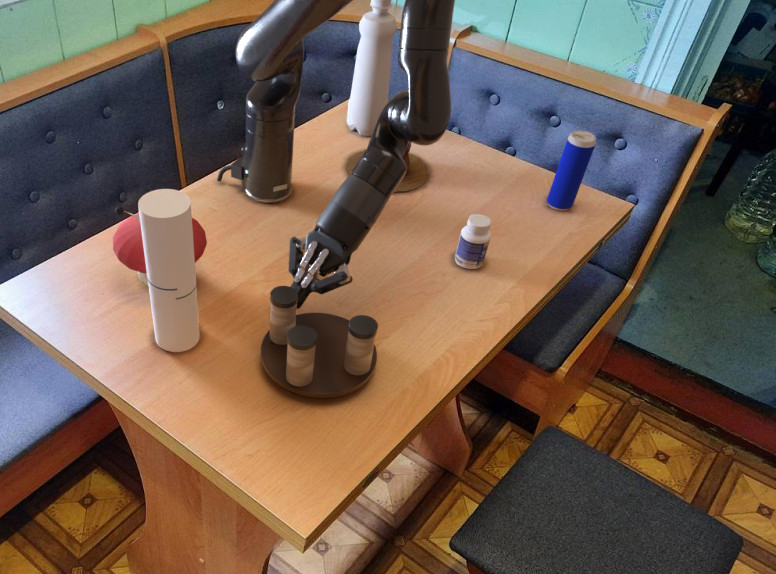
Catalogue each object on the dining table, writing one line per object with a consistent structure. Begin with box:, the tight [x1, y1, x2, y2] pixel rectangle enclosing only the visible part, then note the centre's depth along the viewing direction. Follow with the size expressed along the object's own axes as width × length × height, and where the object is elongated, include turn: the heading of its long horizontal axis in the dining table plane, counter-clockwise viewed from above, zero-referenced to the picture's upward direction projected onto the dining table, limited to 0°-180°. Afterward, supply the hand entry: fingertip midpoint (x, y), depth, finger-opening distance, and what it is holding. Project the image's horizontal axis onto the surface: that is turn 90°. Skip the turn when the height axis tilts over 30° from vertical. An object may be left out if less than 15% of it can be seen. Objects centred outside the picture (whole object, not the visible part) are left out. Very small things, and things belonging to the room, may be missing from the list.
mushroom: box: [112, 206, 208, 288], centre depth 122 cm, size 16×16×15 cm
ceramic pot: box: [345, 142, 431, 193], centre depth 152 cm, size 18×18×7 cm
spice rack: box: [260, 285, 379, 399], centre depth 110 cm, size 18×18×9 cm
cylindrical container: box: [137, 188, 201, 353], centre depth 108 cm, size 7×7×25 cm
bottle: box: [346, 0, 398, 137], centre depth 157 cm, size 9×9×30 cm
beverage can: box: [546, 129, 597, 212], centre depth 142 cm, size 5×5×15 cm
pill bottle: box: [454, 213, 492, 270], centre depth 130 cm, size 5×5×9 cm
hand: (289, 306), depth 114 cm, fingers closed
